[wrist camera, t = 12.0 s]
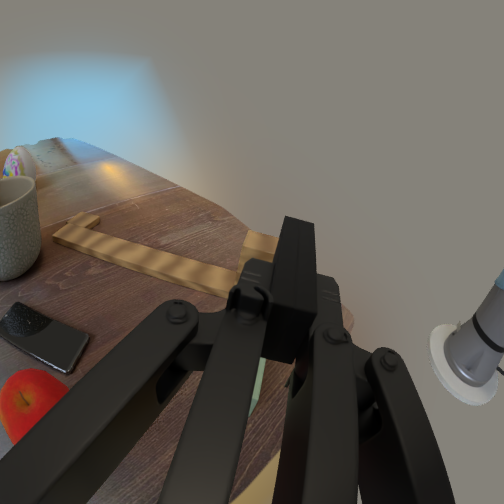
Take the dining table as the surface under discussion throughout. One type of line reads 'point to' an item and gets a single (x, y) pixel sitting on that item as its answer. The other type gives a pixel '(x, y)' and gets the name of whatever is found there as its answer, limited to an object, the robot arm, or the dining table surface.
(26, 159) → the decorative egg
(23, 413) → the apple
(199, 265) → the wooden beam with block
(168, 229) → the dining table surface
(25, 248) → the planter
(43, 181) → the dining table surface
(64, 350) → the smartphone
